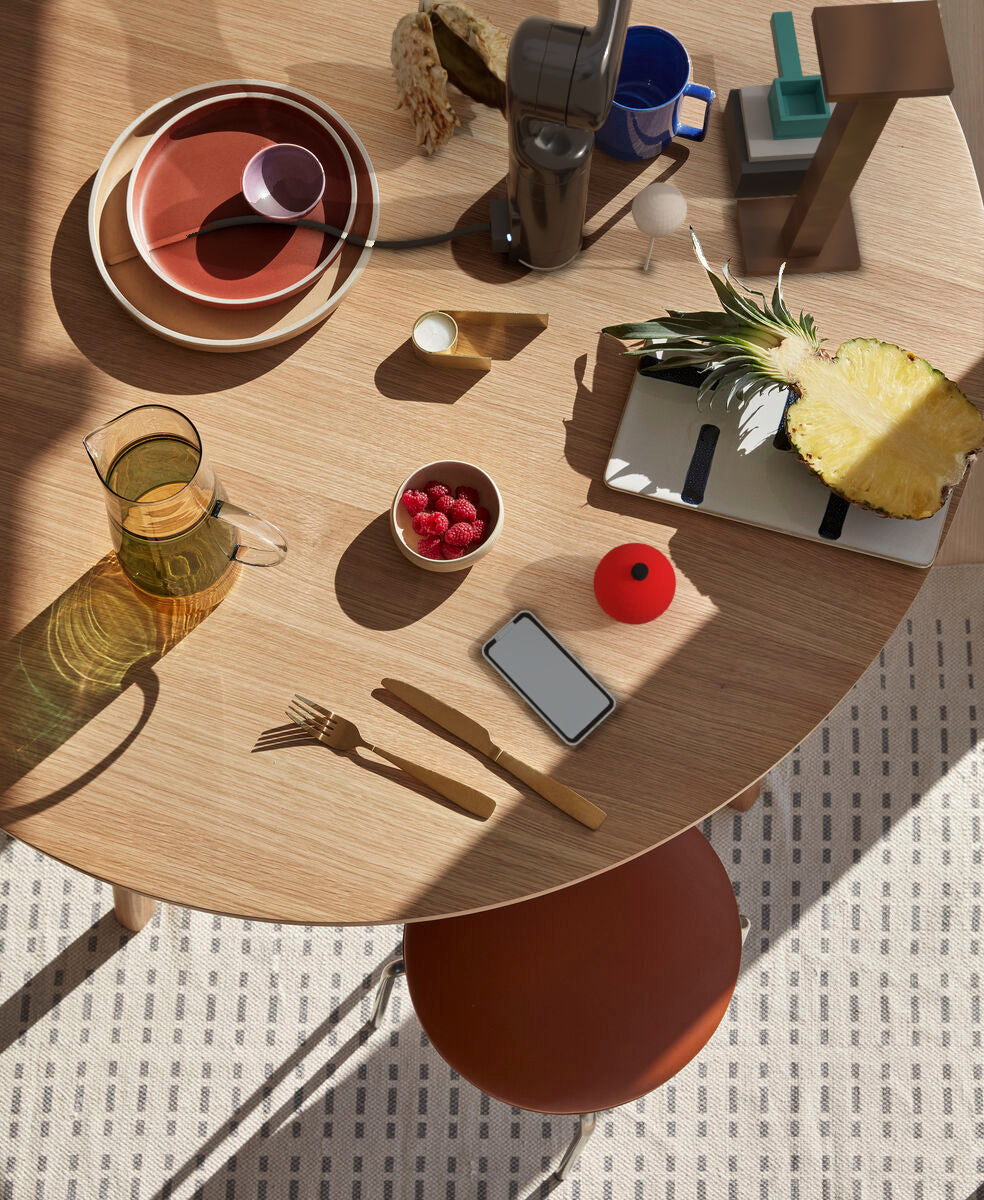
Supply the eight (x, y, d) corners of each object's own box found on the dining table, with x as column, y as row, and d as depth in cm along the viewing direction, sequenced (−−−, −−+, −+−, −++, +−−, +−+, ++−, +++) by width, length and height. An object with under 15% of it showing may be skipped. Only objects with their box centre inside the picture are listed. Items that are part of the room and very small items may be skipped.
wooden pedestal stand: (744, 277, 135) (818, 95, 104) (734, 205, 137) (803, 7, 106) (858, 269, 135) (965, 86, 104) (846, 198, 137) (947, -2, 106)
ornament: (659, 642, 123) (672, 621, 114) (581, 620, 124) (588, 598, 114) (677, 567, 125) (692, 541, 116) (601, 547, 126) (609, 519, 116)
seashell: (436, 86, 120) (556, 50, 124) (368, -28, 125) (485, -58, 129) (427, 199, 137) (533, 165, 141) (366, 95, 142) (470, 65, 146)
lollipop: (672, 249, 136) (692, 173, 121) (669, 292, 134) (689, 220, 120) (621, 245, 136) (636, 169, 121) (618, 288, 134) (632, 215, 120)
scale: (733, 198, 138) (744, 168, 132) (722, 116, 141) (731, 83, 135) (845, 191, 138) (860, 161, 132) (831, 109, 141) (845, 76, 135)
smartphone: (571, 749, 120) (477, 650, 122) (571, 750, 120) (477, 652, 123) (620, 703, 121) (525, 606, 123) (619, 704, 122) (525, 607, 124)
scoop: (773, 140, 133) (780, 120, 129) (755, 22, 137) (761, 1, 134) (823, 137, 133) (831, 117, 129) (803, 19, 137) (810, -3, 134)
